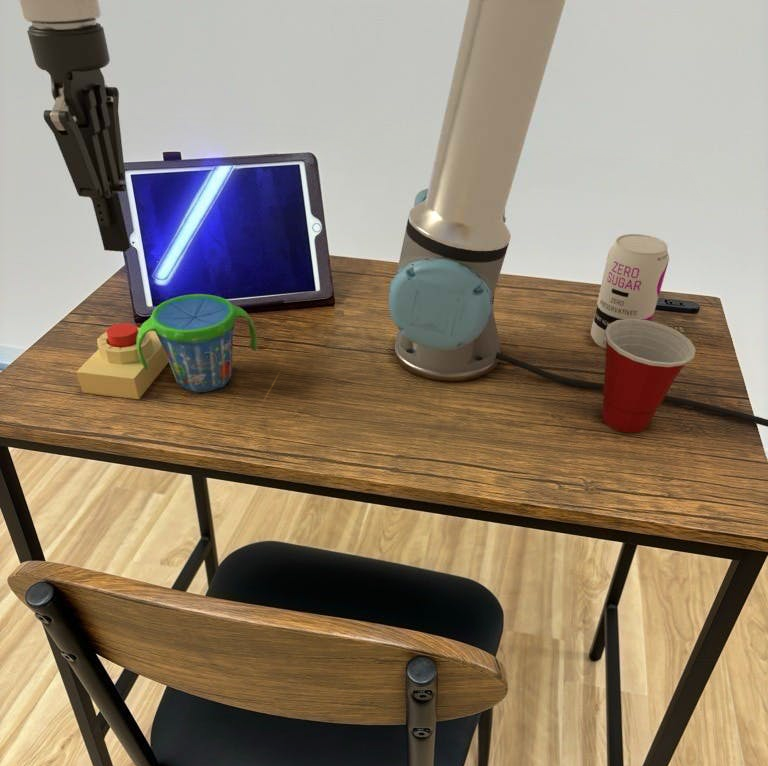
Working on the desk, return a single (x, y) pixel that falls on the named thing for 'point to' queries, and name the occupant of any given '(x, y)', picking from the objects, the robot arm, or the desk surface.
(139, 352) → the snack cup
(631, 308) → the supplement can
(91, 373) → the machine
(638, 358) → the plastic cup
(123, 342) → the button
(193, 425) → the desk surface
